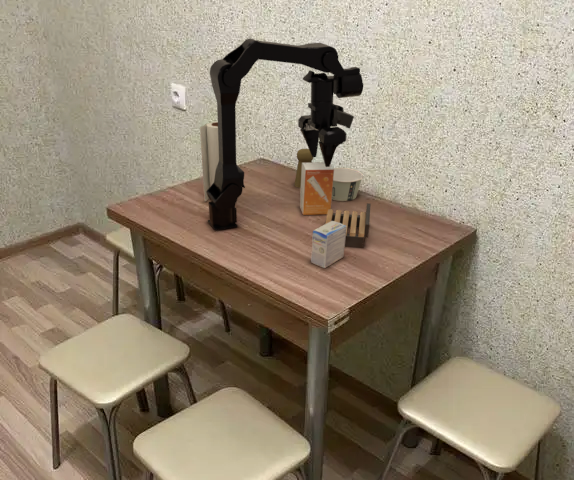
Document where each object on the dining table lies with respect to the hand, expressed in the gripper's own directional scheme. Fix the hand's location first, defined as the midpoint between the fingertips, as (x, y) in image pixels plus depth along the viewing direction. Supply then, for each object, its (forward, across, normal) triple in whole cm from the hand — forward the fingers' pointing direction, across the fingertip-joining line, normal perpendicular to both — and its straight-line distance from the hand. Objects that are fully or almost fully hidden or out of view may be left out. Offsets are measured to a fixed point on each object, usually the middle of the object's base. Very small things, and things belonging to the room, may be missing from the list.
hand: (320, 161), depth 156 cm
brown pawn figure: (+14, +22, -4) cm, 27 cm away
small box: (+15, +2, +1) cm, 15 cm away
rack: (+15, -16, 0) cm, 22 cm away
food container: (+15, +11, -12) cm, 22 cm away
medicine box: (+15, -28, +10) cm, 33 cm away
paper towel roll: (+13, +18, +25) cm, 34 cm away
